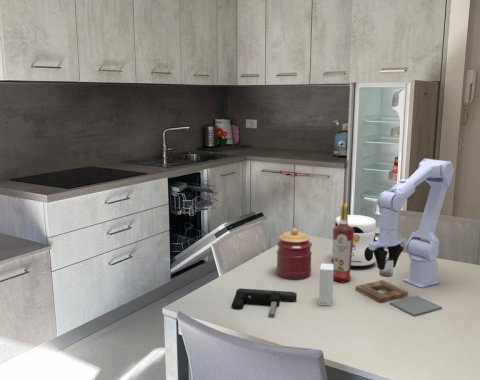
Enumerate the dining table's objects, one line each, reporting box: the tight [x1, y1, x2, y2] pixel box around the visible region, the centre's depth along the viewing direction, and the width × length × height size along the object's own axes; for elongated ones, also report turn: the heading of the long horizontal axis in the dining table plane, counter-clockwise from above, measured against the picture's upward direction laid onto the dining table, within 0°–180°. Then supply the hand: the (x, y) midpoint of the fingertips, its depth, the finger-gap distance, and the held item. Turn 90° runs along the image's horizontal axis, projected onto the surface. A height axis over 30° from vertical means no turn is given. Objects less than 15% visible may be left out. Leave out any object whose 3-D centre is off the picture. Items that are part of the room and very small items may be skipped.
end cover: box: [378, 256, 394, 278], centre depth 160 cm, size 4×4×6 cm
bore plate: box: [355, 279, 409, 304], centre depth 163 cm, size 12×12×2 cm
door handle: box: [230, 288, 298, 319], centre depth 153 cm, size 3×20×16 cm
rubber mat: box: [389, 295, 443, 317], centre depth 152 cm, size 12×10×1 cm
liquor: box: [332, 202, 354, 283], centre depth 172 cm, size 7×7×28 cm
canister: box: [276, 227, 313, 280], centre depth 179 cm, size 13×13×18 cm
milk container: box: [331, 214, 377, 268], centre depth 191 cm, size 17×17×18 cm
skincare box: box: [318, 263, 334, 306], centre depth 155 cm, size 6×4×12 cm
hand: (386, 267), depth 160 cm, fingers closed on end cover, 4 cm apart
